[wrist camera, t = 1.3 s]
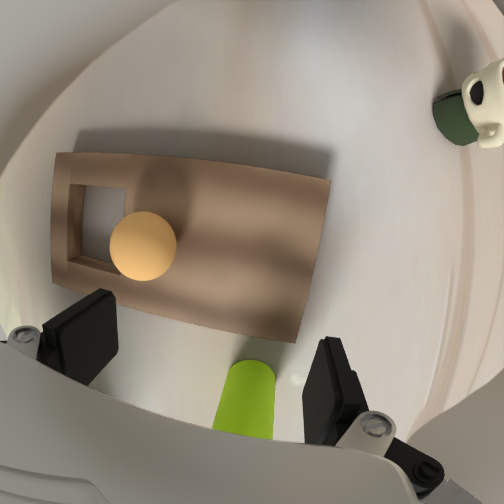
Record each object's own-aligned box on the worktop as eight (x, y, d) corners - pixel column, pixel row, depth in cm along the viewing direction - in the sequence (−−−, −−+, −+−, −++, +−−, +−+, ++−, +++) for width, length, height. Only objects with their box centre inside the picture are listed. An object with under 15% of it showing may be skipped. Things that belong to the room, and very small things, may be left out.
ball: (182, 275, 27) (158, 298, 21) (128, 263, 27) (96, 281, 21) (189, 213, 25) (163, 221, 19) (132, 205, 26) (97, 210, 20)
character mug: (444, 71, 22) (506, 32, 9) (483, 111, 22) (552, 92, 9) (411, 132, 24) (485, 106, 12) (454, 175, 25) (535, 175, 12)
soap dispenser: (215, 361, 32) (161, 503, 13) (272, 357, 31) (260, 514, 12) (224, 396, 33) (186, 529, 14) (277, 394, 32) (269, 536, 13)
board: (294, 329, 30) (295, 343, 27) (66, 276, 32) (52, 282, 29) (325, 181, 26) (331, 180, 23) (71, 154, 28) (56, 152, 25)
